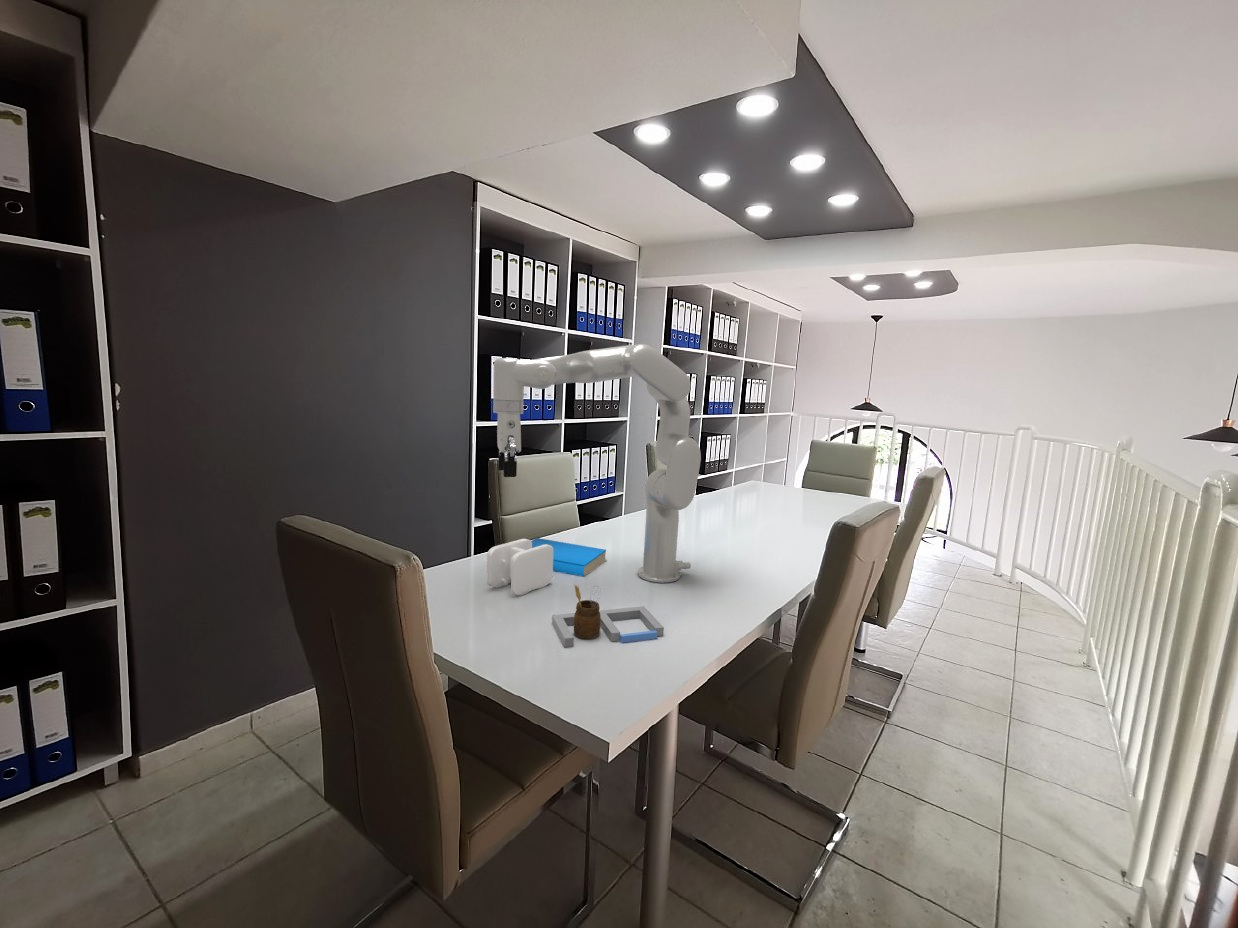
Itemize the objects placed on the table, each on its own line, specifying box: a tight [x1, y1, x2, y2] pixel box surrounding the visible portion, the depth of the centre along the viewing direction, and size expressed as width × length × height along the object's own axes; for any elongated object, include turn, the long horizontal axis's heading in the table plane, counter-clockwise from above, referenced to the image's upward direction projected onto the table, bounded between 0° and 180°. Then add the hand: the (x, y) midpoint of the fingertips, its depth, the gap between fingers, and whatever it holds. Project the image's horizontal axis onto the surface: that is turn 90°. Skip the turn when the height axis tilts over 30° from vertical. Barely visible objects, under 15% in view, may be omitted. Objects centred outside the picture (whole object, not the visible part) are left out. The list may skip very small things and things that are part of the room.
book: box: [530, 537, 607, 577], centre depth 172 cm, size 17×4×25 cm
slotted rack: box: [551, 605, 665, 648], centre depth 127 cm, size 23×13×2 cm, turn 110°
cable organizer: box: [486, 538, 554, 596], centre depth 150 cm, size 15×11×12 cm
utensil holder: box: [573, 584, 602, 640], centre depth 124 cm, size 6×6×12 cm
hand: (507, 473), depth 144 cm, fingers open, 9 cm apart
